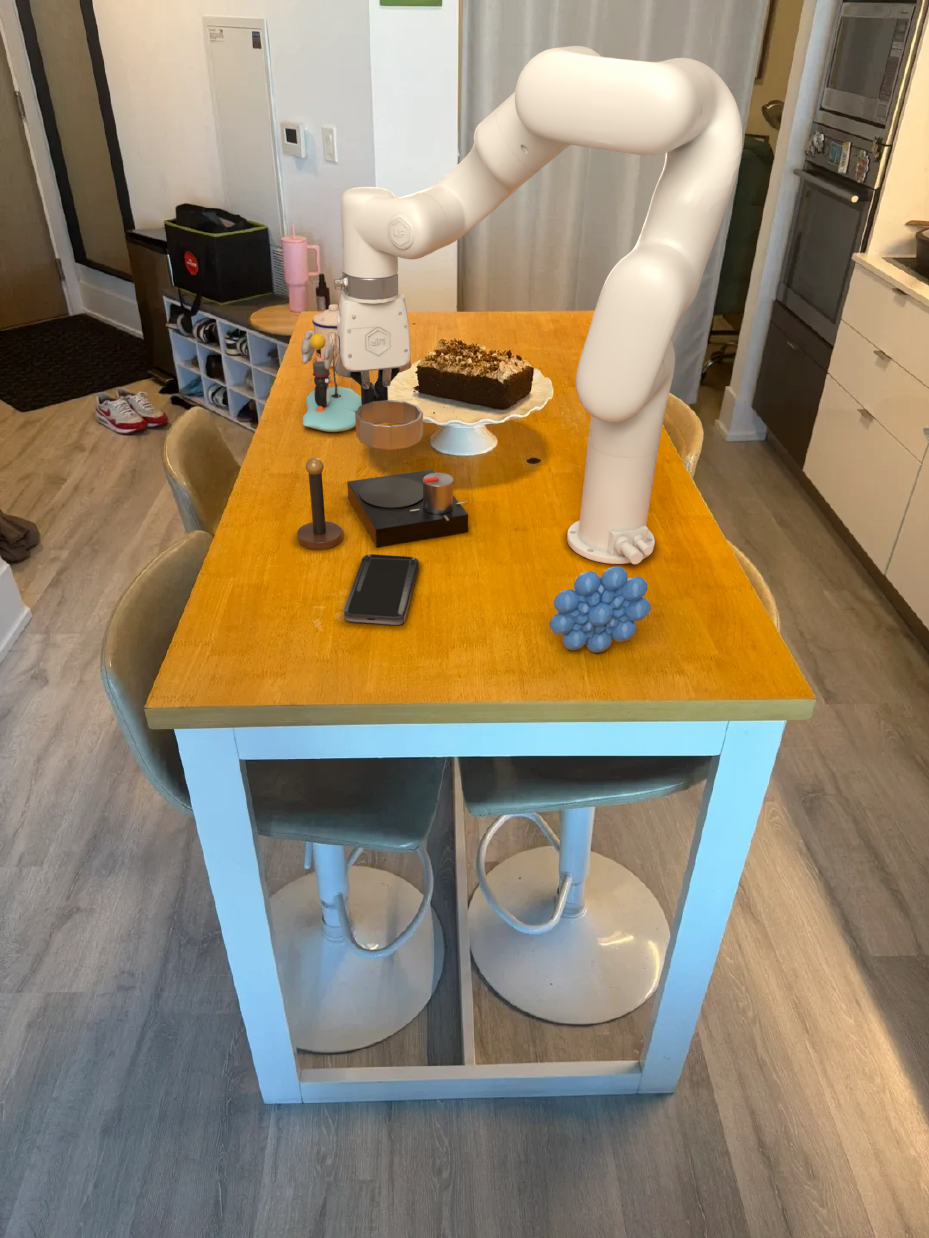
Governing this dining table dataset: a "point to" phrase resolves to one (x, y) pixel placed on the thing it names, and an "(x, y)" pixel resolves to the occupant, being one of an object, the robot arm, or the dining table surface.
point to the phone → (382, 590)
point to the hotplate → (406, 516)
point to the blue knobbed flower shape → (600, 609)
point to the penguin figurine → (327, 391)
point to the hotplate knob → (438, 493)
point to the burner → (391, 492)
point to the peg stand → (318, 514)
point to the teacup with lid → (327, 330)
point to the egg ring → (388, 413)
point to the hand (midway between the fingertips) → (374, 410)
